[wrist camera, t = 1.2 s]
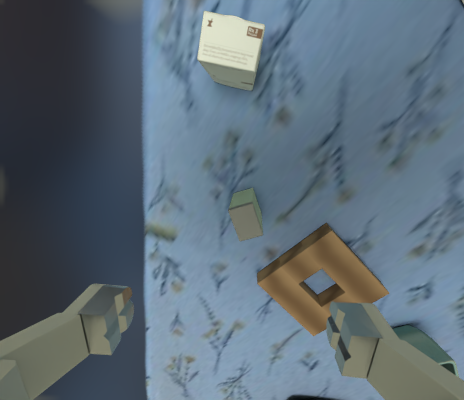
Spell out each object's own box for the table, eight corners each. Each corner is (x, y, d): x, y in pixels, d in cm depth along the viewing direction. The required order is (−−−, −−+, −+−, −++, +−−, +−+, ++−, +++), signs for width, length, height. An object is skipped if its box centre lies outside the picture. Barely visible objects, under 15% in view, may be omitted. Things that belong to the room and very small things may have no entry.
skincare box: (213, 83, 34) (193, 62, 22) (219, 48, 32) (200, 7, 21) (254, 92, 33) (254, 76, 22) (261, 57, 32) (266, 22, 21)
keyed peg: (252, 187, 38) (252, 203, 31) (261, 213, 40) (262, 235, 32) (233, 193, 39) (228, 210, 31) (242, 219, 40) (239, 241, 33)
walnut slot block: (326, 222, 39) (331, 230, 36) (380, 281, 42) (389, 293, 39) (257, 273, 44) (257, 283, 41) (309, 323, 46) (313, 336, 44)
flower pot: (426, 346, 46) (464, 397, 37) (380, 356, 48) (407, 406, 39) (416, 314, 43) (455, 360, 35) (369, 325, 45) (395, 372, 37)
